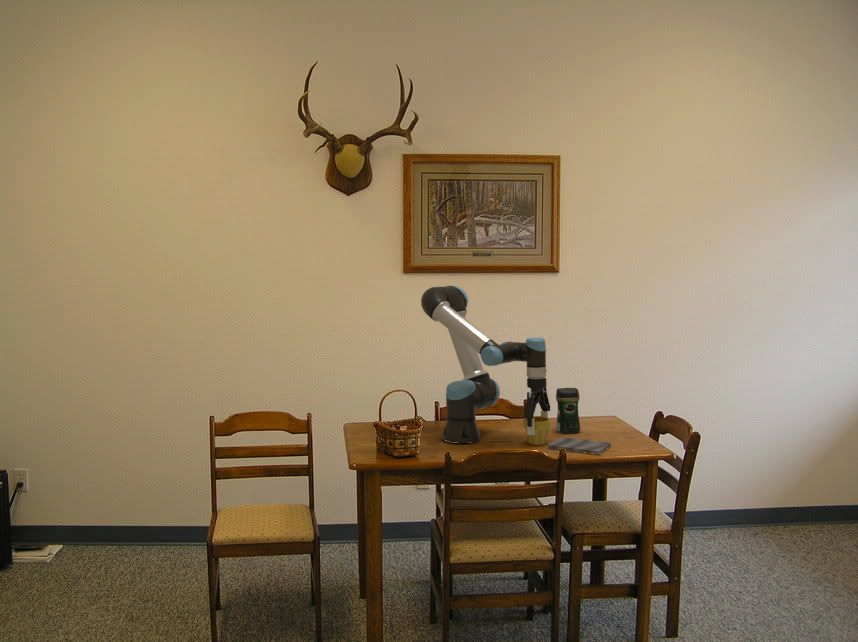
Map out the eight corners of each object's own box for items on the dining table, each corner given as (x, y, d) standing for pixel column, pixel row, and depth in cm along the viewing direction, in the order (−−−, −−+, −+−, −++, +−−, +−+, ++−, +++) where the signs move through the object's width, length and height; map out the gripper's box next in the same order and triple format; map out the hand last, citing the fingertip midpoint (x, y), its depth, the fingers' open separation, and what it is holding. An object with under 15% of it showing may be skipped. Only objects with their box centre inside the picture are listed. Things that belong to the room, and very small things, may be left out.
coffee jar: (576, 429, 304) (576, 385, 303) (581, 433, 297) (581, 389, 295) (554, 430, 304) (553, 386, 302) (558, 434, 296) (558, 390, 294)
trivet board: (547, 448, 274) (547, 445, 274) (561, 440, 286) (561, 436, 286) (599, 455, 264) (599, 451, 263) (610, 446, 275) (610, 442, 275)
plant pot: (523, 446, 278) (523, 421, 278) (523, 439, 289) (523, 415, 288) (550, 446, 277) (550, 421, 276) (550, 440, 287) (549, 416, 286)
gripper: (532, 382, 268) (534, 438, 270) (557, 373, 289) (558, 425, 291) (514, 381, 272) (515, 437, 273) (540, 372, 293) (541, 423, 295)
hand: (537, 431), depth 282 cm, fingers open, 13 cm apart
